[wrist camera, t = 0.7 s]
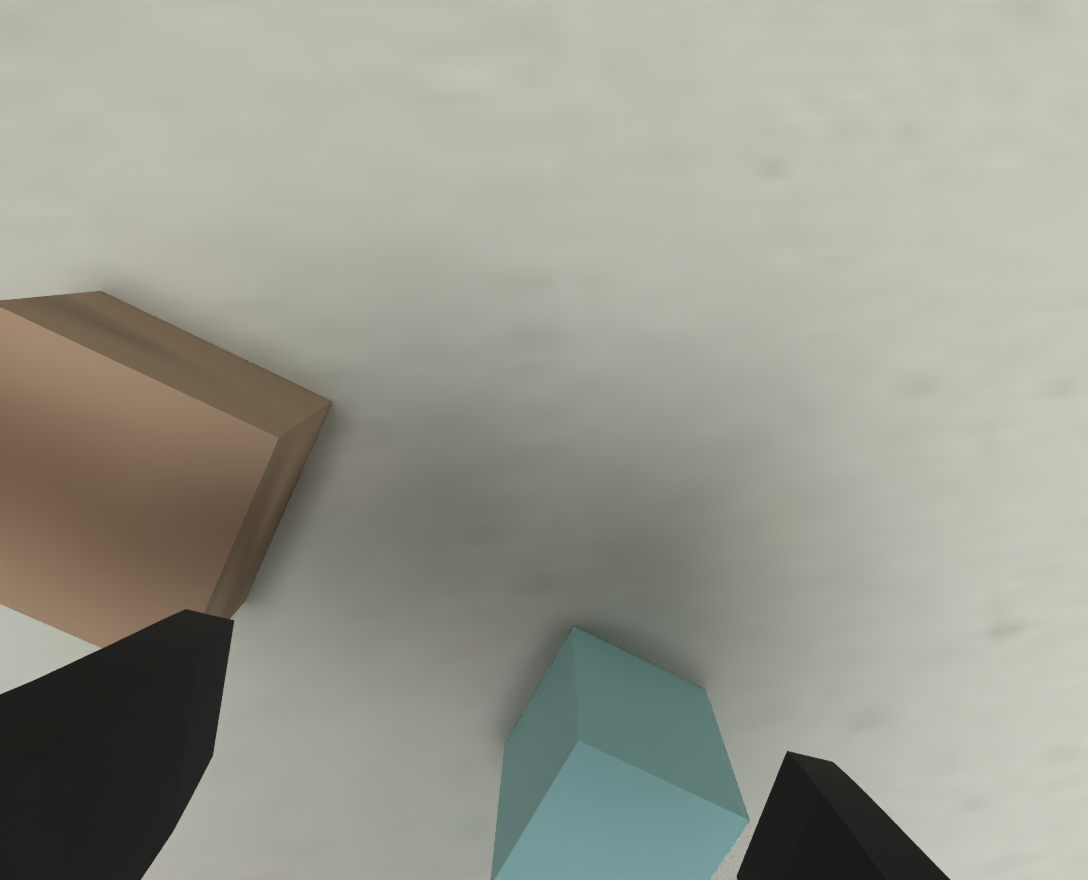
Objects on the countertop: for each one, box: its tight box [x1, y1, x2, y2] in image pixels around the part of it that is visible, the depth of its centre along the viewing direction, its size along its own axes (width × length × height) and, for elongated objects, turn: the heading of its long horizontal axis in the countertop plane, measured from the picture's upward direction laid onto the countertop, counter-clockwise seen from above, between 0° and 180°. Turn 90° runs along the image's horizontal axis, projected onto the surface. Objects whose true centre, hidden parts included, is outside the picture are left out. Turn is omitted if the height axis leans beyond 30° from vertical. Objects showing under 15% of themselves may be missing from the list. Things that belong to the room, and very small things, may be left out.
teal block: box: [491, 626, 750, 880], centre depth 19 cm, size 4×4×5 cm
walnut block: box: [0, 291, 332, 648], centre depth 18 cm, size 6×6×4 cm
